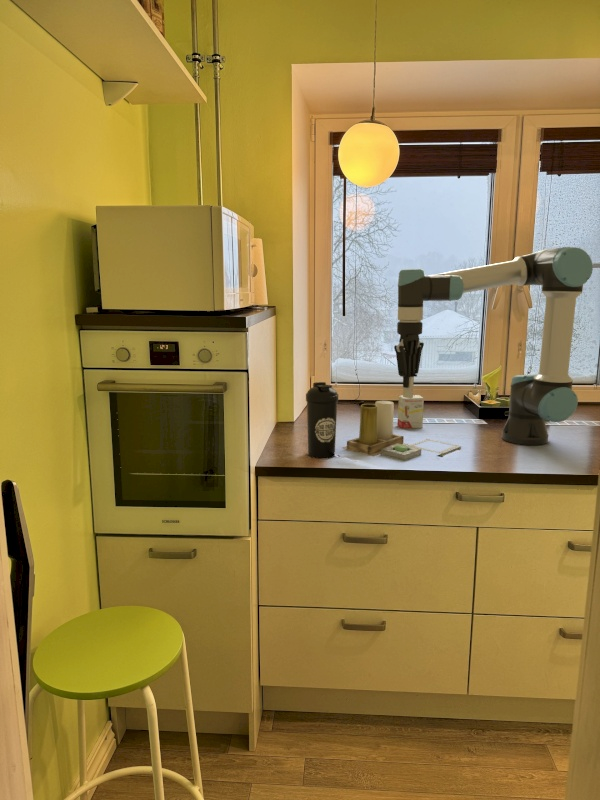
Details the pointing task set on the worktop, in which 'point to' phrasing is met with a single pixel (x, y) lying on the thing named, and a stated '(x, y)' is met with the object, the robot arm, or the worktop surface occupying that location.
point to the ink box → (410, 412)
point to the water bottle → (321, 420)
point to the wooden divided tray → (374, 448)
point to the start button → (401, 448)
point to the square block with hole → (403, 456)
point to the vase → (368, 424)
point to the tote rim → (436, 451)
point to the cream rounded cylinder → (384, 419)
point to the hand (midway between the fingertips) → (407, 397)
